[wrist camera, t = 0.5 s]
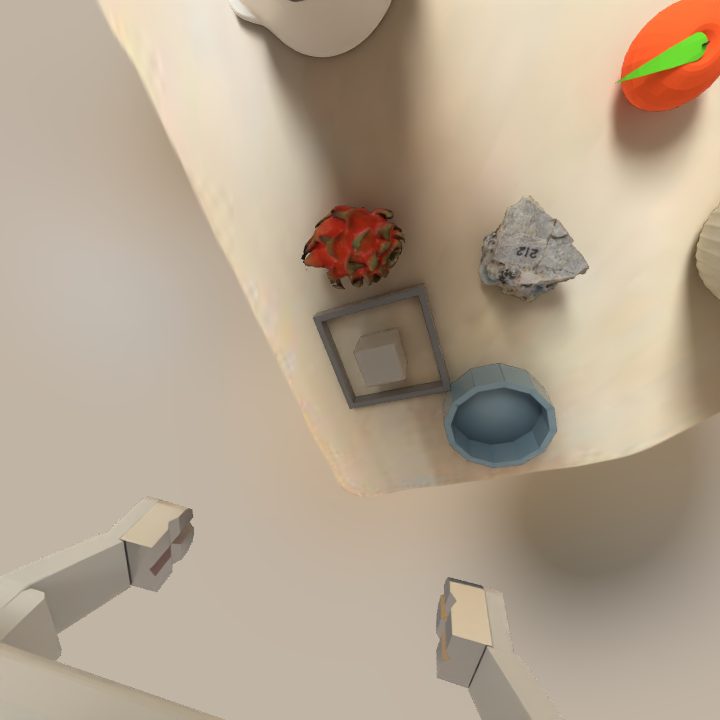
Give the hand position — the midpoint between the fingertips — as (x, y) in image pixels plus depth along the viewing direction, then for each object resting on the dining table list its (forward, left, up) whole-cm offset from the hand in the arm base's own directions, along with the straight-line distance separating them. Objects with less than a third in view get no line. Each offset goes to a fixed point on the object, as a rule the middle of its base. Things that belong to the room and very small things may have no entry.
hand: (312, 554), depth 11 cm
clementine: (-11, +25, -37) cm, 46 cm away
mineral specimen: (+1, +13, -37) cm, 39 cm away
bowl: (+21, +7, -36) cm, 43 cm away
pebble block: (+9, -5, -36) cm, 38 cm away
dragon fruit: (-5, -4, -37) cm, 37 cm away
